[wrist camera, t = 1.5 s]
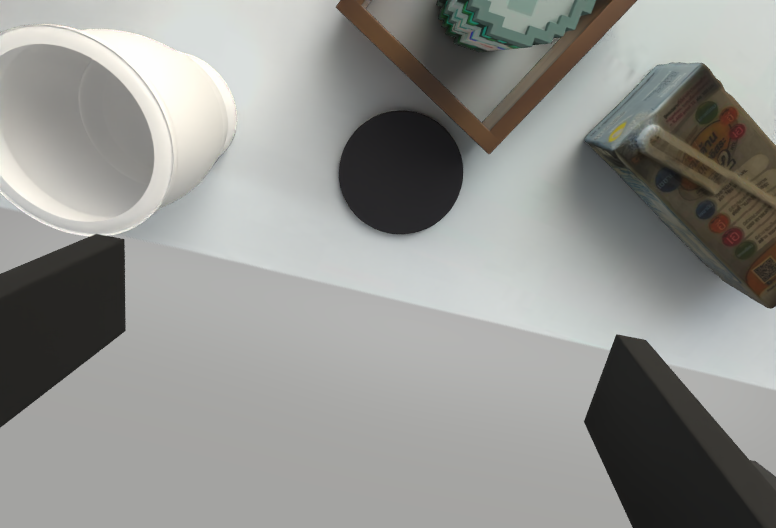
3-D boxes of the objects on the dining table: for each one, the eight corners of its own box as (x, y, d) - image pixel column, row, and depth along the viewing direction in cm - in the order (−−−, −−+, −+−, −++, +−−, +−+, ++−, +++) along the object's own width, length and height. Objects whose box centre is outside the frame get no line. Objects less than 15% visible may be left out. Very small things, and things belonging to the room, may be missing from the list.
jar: (279, 112, 38) (214, 142, 25) (198, 202, 41) (99, 274, 27) (168, 3, 36) (23, -33, 22) (89, 107, 38) (-83, 134, 25)
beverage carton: (660, 55, 37) (714, 54, 30) (802, 217, 41) (873, 245, 35) (578, 138, 39) (612, 153, 33) (721, 282, 44) (774, 319, 38)
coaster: (314, 179, 40) (313, 180, 40) (396, 82, 37) (396, 82, 37) (404, 254, 43) (405, 257, 42) (487, 169, 40) (489, 170, 39)
